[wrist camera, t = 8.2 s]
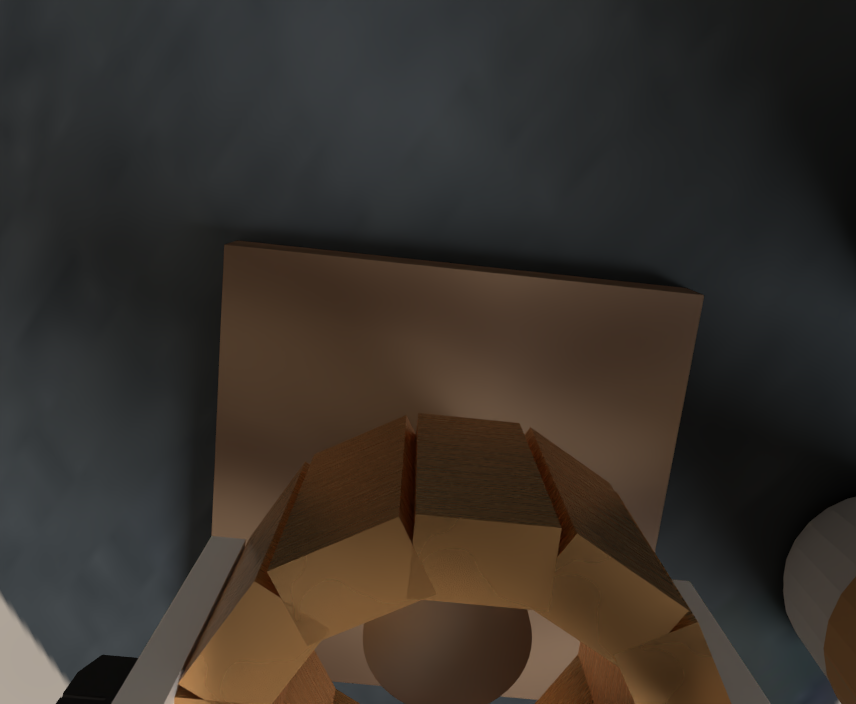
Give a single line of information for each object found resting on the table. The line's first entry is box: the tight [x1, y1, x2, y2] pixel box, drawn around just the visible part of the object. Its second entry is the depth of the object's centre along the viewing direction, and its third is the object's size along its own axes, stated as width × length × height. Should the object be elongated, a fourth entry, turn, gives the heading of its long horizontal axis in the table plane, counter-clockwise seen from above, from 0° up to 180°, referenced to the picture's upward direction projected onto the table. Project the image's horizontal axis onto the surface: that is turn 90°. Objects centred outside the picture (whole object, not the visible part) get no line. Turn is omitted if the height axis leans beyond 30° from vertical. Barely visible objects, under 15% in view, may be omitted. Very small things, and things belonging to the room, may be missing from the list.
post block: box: [212, 240, 704, 704], centre depth 20 cm, size 14×14×9 cm
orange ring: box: [174, 413, 731, 704], centre depth 15 cm, size 9×9×5 cm
